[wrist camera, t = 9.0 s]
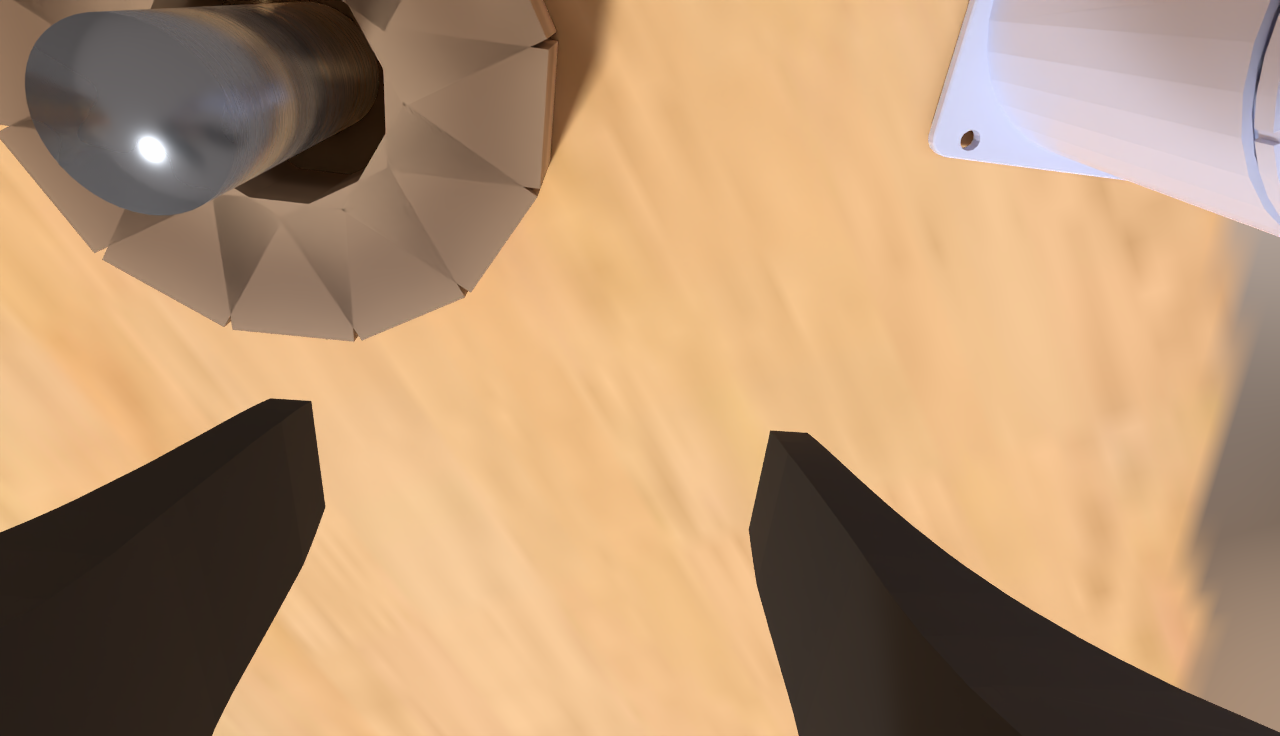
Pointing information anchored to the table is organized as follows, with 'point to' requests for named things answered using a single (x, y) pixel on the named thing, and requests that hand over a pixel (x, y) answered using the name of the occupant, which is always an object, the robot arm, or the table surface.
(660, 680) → the table surface
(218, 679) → the robot arm
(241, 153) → the metal peg
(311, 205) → the brown flat faceted ring
